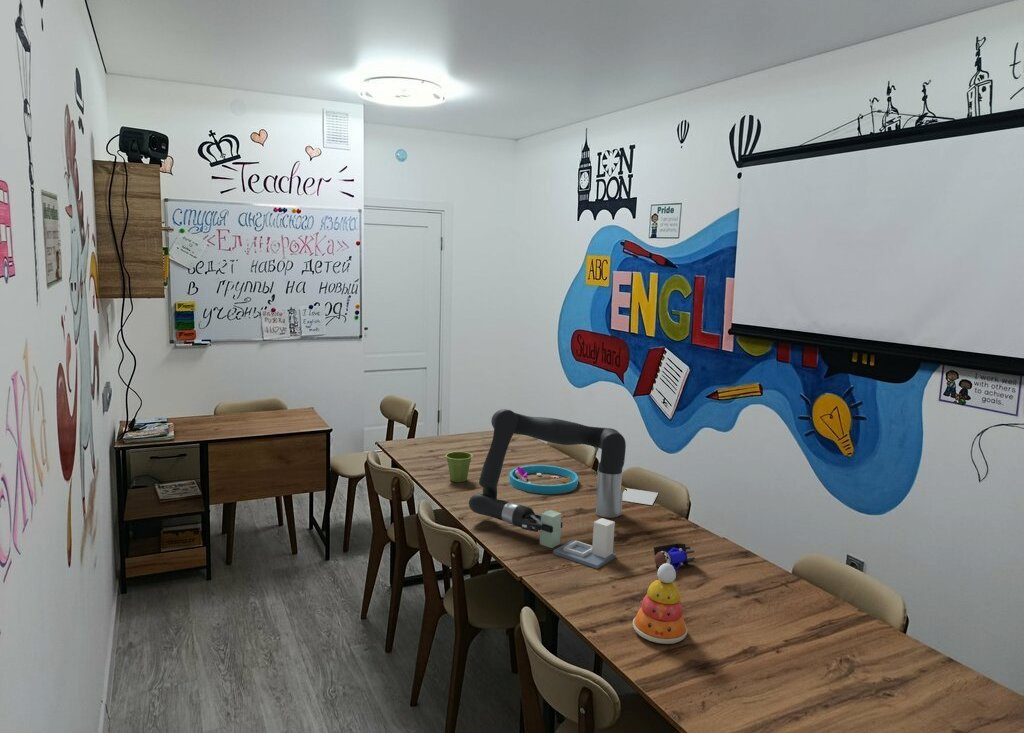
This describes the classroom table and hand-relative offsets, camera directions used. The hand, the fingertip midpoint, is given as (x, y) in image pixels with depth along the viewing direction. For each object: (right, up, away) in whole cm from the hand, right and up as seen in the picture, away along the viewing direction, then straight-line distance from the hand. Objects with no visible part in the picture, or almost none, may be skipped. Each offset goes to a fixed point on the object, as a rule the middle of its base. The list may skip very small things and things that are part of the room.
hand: (557, 527), depth 239 cm
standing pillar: (+15, -7, -7) cm, 18 cm away
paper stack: (+35, +1, +60) cm, 69 cm away
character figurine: (+37, -10, -12) cm, 40 cm away
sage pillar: (-2, -6, +3) cm, 7 cm away
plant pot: (-39, +5, +68) cm, 78 cm away
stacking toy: (+24, -16, -53) cm, 60 cm away
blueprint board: (+9, -8, -6) cm, 13 cm away
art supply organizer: (-2, +3, +69) cm, 69 cm away
